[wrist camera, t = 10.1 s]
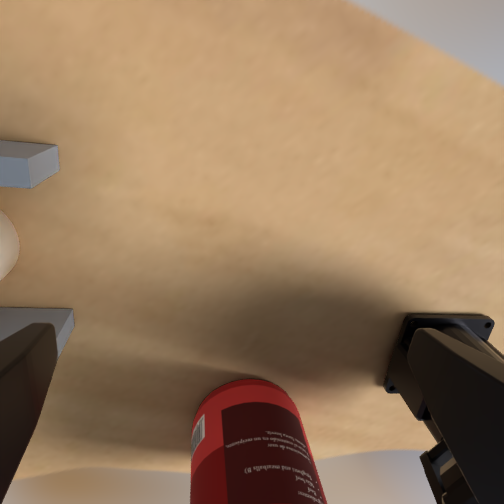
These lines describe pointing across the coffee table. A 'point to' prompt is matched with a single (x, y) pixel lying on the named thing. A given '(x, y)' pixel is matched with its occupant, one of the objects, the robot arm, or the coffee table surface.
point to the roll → (8, 245)
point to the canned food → (251, 448)
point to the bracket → (27, 176)
